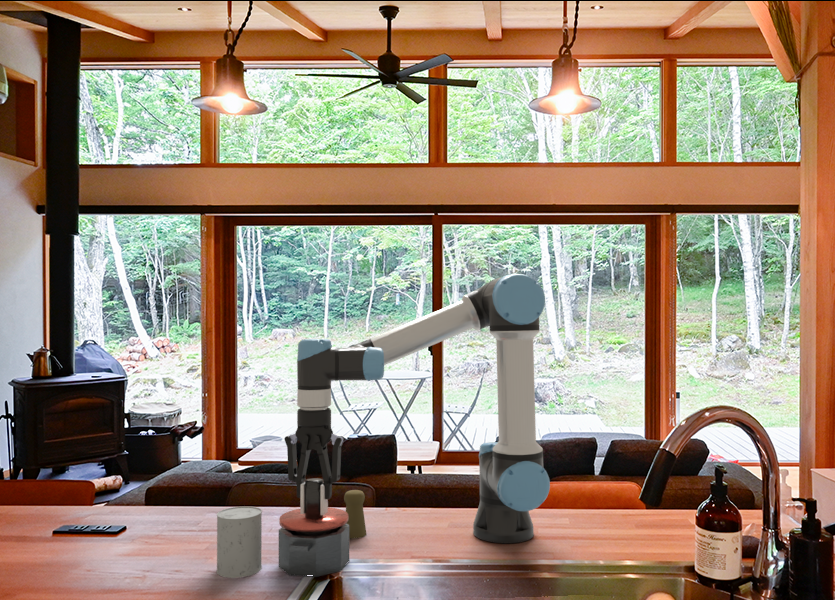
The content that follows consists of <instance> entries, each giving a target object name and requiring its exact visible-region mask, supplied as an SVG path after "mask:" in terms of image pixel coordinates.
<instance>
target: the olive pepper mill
mask: <svg viewBox="0 0 835 600" xmlns="http://www.w3.org/2000/svg"><path fill="white" fill-rule="evenodd" d="M365 499H366V498H365V493H364V492H363V491H362V490H358V489H352V490H351V489H350V490H348V491H346V492H345V493H344V496H343V500H344V503H345V505H346V506H345V512H347V513H348V522H347V523H346V524H348V525H349V539H361V538H364V537H366V536H367V528H366V519H365V513H364V505H363V504H364V502H365Z"/></svg>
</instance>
